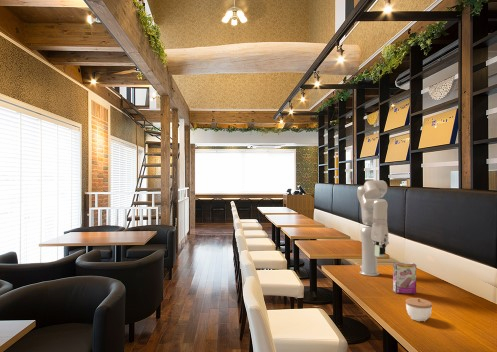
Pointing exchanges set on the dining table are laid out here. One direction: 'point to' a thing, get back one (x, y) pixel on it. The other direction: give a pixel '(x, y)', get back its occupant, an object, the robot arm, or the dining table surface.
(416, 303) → the lidded jar
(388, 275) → the dining table surface
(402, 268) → the candy bar box
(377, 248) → the sage block
